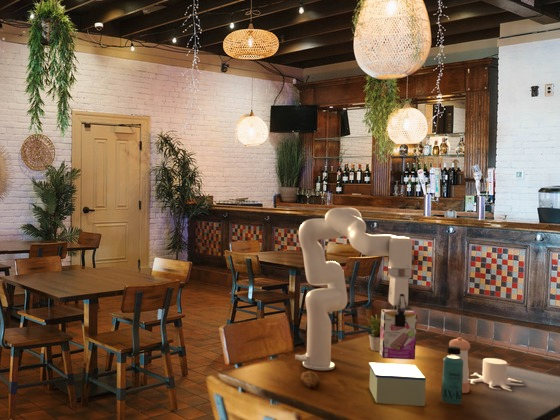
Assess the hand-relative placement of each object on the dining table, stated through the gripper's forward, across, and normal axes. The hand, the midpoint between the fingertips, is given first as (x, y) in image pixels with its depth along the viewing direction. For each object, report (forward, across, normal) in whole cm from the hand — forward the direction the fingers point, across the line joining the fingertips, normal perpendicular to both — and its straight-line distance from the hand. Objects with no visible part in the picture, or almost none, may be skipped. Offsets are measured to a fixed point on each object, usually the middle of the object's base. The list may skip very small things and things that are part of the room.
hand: (398, 324), depth 225 cm
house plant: (+26, -64, +4) cm, 69 cm away
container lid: (+17, 0, 0) cm, 17 cm away
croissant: (+26, -9, -29) cm, 40 cm away
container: (+26, 0, 0) cm, 26 cm away
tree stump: (+26, -26, +40) cm, 54 cm away
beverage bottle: (+26, +5, +17) cm, 31 cm away
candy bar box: (+12, 0, 0) cm, 12 cm away
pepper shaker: (+26, -13, +24) cm, 38 cm away
